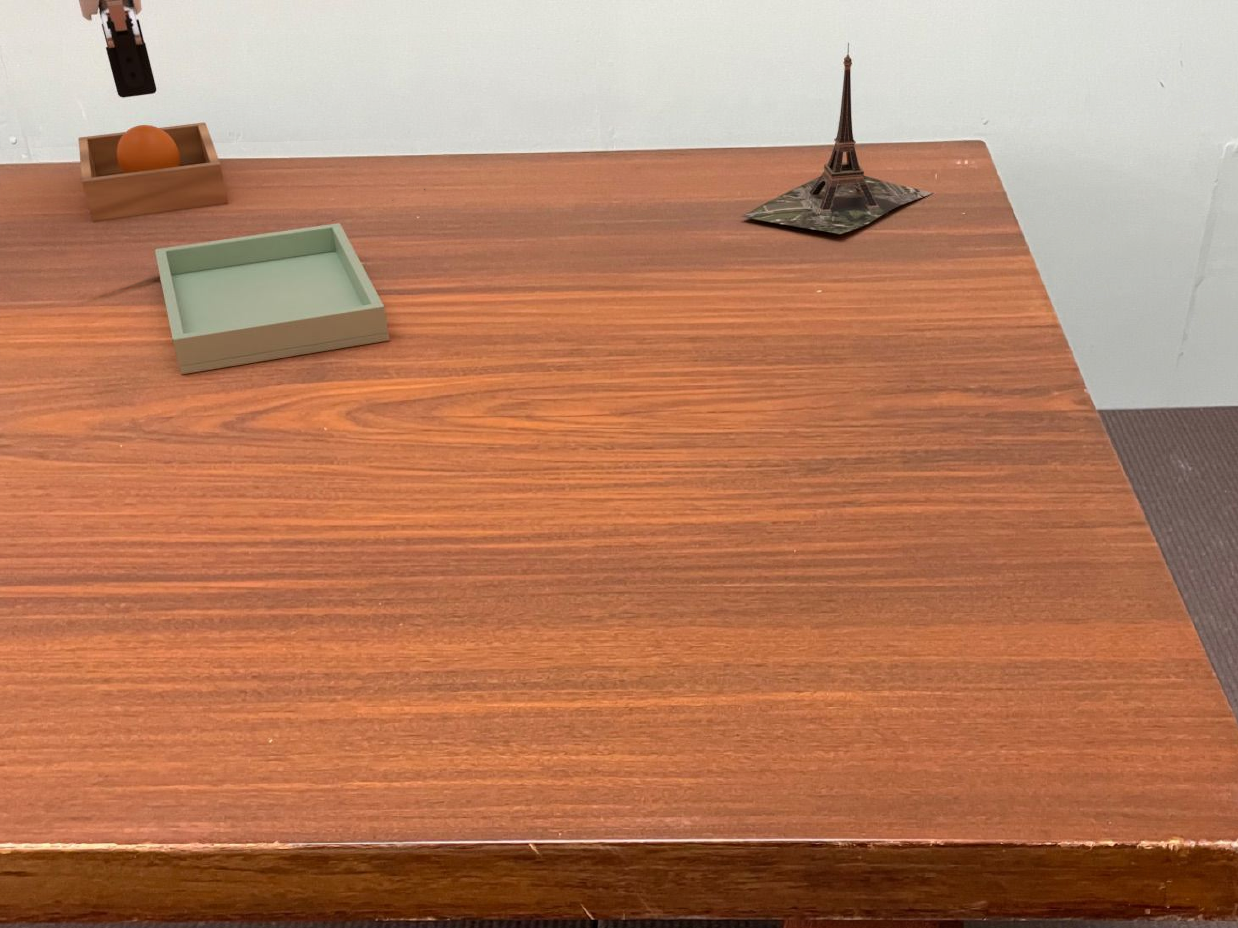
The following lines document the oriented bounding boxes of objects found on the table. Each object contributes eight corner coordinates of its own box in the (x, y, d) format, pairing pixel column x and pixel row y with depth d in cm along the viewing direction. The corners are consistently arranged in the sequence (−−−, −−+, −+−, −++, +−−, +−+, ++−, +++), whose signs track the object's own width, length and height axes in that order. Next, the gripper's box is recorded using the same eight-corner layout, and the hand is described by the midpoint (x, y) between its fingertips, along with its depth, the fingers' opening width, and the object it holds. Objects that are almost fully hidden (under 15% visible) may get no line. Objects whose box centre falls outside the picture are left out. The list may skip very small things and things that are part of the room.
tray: (389, 340, 105) (384, 306, 103) (181, 374, 101) (172, 339, 100) (345, 253, 120) (339, 222, 119) (162, 280, 116) (154, 248, 115)
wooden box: (230, 210, 130) (220, 163, 128) (94, 228, 127) (82, 181, 125) (214, 165, 142) (205, 122, 139) (89, 181, 139) (78, 137, 136)
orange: (146, 202, 131) (130, 138, 128) (114, 190, 134) (98, 128, 131) (197, 187, 134) (184, 124, 131) (166, 176, 137) (151, 114, 134)
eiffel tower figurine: (834, 174, 133) (840, 16, 125) (933, 192, 128) (945, 30, 120) (740, 221, 124) (740, 53, 116) (843, 243, 118) (849, 69, 111)
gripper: (31, -147, 124) (88, 65, 134) (30, -121, 111) (93, 111, 121) (122, -155, 126) (171, 55, 136) (132, -131, 113) (186, 99, 123)
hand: (134, 81), depth 129 cm, fingers open, 9 cm apart
